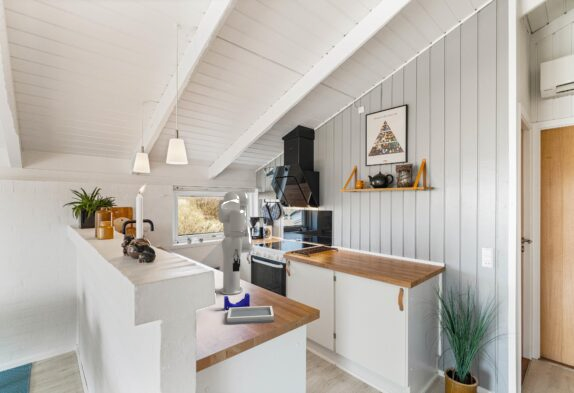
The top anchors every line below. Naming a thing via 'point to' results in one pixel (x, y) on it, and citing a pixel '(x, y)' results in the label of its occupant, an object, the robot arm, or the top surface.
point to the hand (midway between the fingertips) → (236, 269)
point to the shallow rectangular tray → (250, 315)
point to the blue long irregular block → (242, 303)
